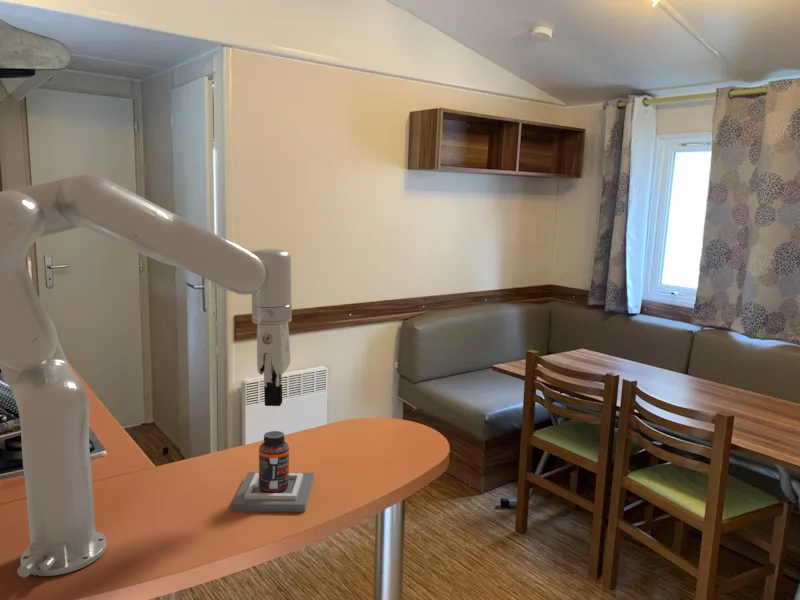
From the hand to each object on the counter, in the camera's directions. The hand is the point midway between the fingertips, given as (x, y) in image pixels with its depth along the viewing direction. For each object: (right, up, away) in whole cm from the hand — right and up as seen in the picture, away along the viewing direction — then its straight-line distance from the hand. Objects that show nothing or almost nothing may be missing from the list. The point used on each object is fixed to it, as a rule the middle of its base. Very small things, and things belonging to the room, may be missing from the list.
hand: (273, 404), depth 123 cm
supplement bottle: (0, -18, +3) cm, 18 cm away
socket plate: (0, -19, +3) cm, 19 cm away
